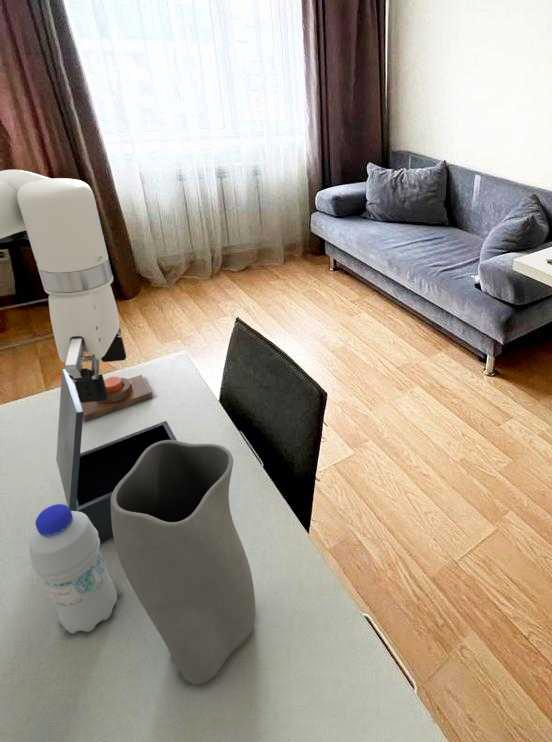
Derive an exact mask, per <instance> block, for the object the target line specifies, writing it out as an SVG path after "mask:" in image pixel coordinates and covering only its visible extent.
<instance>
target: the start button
mask: <svg viewBox="0 0 552 742" xmlns="http://www.w3.org/2000/svg"><path fill="white" fill-rule="evenodd" d="M121 378H122V377H120V376H111V377H107V378H105V379H104V382H105V386H106V390H107V393H113V392H116V391H119V390H120V389H122V388H123V384H122V380H121Z"/></svg>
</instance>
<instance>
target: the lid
mask: <svg viewBox="0 0 552 742" xmlns="http://www.w3.org/2000/svg"><path fill="white" fill-rule="evenodd" d="M60 379H61V381H60V382H61V383H60V394H59V395H60V396H59V397H60V398H59V410H58V411H59V413H58V426H57V443H56V459H55V460H56V464H57V468H58V473H59V476H60V480H61V481H60V482H61V484H62V489H63V491H64V496H65V501H66V504H67V505H66V506H68V507H69V508H70V510H71V511H73V510H76V501H77V488H78V475H79V462H80V454H81V448H82V435H83V421H84V415H83V409H82V406H81V403H80V401H79V398H78V393H77V390H76V386H75V383H74V382H73V381H72V379H71V378H70V377H69V374H68V372H67V371H66V370H65V368H62V369H61V378H60Z"/></svg>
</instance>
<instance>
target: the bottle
mask: <svg viewBox="0 0 552 742" xmlns="http://www.w3.org/2000/svg"><path fill="white" fill-rule="evenodd" d="M35 527H36V528H35V530H34V531H33V532H32V533H31V535H30V538H29V541H28V549H29V554H30V560H31V567H32V568H33V569H34V570H35V573H36V575H37V576H38V577H39V578H40V579H43V581H44V583H45V586H46V588H47V591H48V592H49V595H50V597H51V600H52V601H53V603H54V604H53V605H54V608H55V610H56V611H55V612H56V614H57V616H58V617H57V618H58V621H59V622H60V624H61V626H62V627H63V628H64V629H65V630H66V631H67V632H69V633H70V634H76V633H78V632H81V631H82V632H86V633H89V632H91V631H93V630H95V628H96V626H97V625H98V624H99V623H100V622H102V621H107V620H108V619H109V618H110V617H111V615H112V611H113V608H114V606H115V605H116V604H117V601H118V594H117V588H116V586H115V584H114V581H113V579H112V578H111V576H110V573H109V572H108V569H107V566H106V564H105V561H104V558H103V556H102V552H101V550H100V545H101V543H100V539H99V537H98V532H97V530H96V529H95V527H94V526H93V524H92V523H91V521H90V520H89V518H88V517H87V515H86V514H84V513H82V512H78V511H73V510H72V511H71V510H70V508H69V507H68V505H66V504H64V503H58V504H51V505H49V506H47V507H46V508H45V509H43V510H42V511H41V512H40V513H39V514H38V515H37V517H36V518H35Z"/></svg>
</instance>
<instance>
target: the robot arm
mask: <svg viewBox="0 0 552 742" xmlns="http://www.w3.org/2000/svg"><path fill="white" fill-rule="evenodd" d="M24 231H26V233H27V237H28V240H29V243H30V247H31V251H32V253H33V256H34V260H35V263H36V266H37V270H38V273H39V276H40V280H41V283H42V287H43V290H44V292H45V293H46V294H48V308H49V317H50V323H51V328H52V333H53V337H54V341H55V345H56V350H57V353H58V357H59V360H60V361H61V363H63V364H64V369H65V370H66V371H67V372H68V374H69V377H70V378H71V379H72V381H73V383H74V386H75V389H76V392H77V395H78V396H79V400H80V402H82V403H86V402H94V401H103V400H106V399H107V397H108V394H107V390H106V386H105V382H104V380H105V379H104V376H103V374H100V360H101V362H103V363H109V362H120V361H122V362H123V361H125V360H126V359H127V353H126V349H125V348H126V347H125V344H124V340H123V336H122V329H121V328H120V323H121V322H120V316H119V311H118V310H119V309H118V306H117V303H116V298H115V295H114V293H113V289H112V285H111V284H112V283H113V282H114V276H113V271H112V268H111V264H110V263H111V262H110V259H109V254H108V250H107V246H106V241H105V237H104V233H103V228H102V224H101V220H100V215H99V210H98V207H97V201H96V198H95V194H94V192H93V189H92V188H91V187H90V185H89V184H88V183H86V182H85V181H82V180H80V179H74V178H64V177H57V178H55V177H54V178H50V177H48V176H45V175H42V174H38V173H36V172H35V173H34V172H31V171H27V170H23V169H4V170H0V240H1V239H4V238H6V237H10V236H12V235H14V234H18V233H21V232H24ZM85 353H90V355H84V354H85ZM87 362H91V363H90V365H91V366H90V369H89V368H86V367H85V368H84V366H83V364H82V363H87Z"/></svg>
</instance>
